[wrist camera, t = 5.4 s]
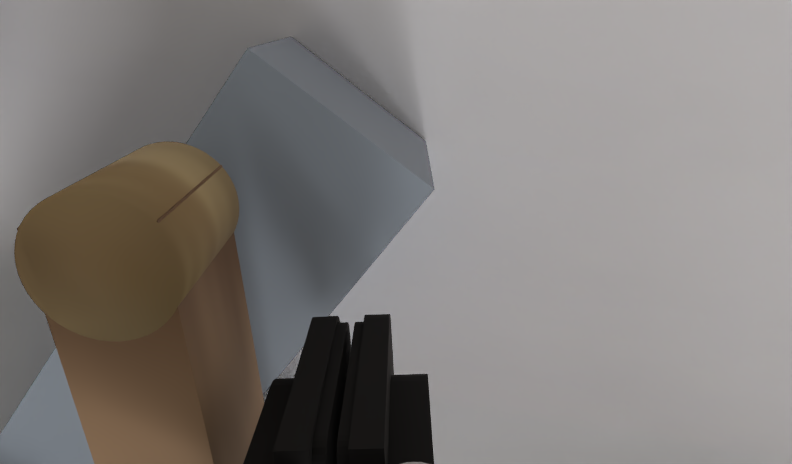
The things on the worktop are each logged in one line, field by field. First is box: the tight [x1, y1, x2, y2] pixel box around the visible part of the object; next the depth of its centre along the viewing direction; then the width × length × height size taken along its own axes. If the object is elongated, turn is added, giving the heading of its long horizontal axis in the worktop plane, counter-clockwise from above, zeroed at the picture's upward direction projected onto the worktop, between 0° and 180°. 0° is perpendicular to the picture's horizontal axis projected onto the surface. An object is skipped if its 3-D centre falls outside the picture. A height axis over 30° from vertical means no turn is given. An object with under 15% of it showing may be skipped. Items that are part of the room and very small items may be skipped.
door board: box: [0, 37, 434, 464], centre depth 16 cm, size 5×24×9 cm, turn 142°
